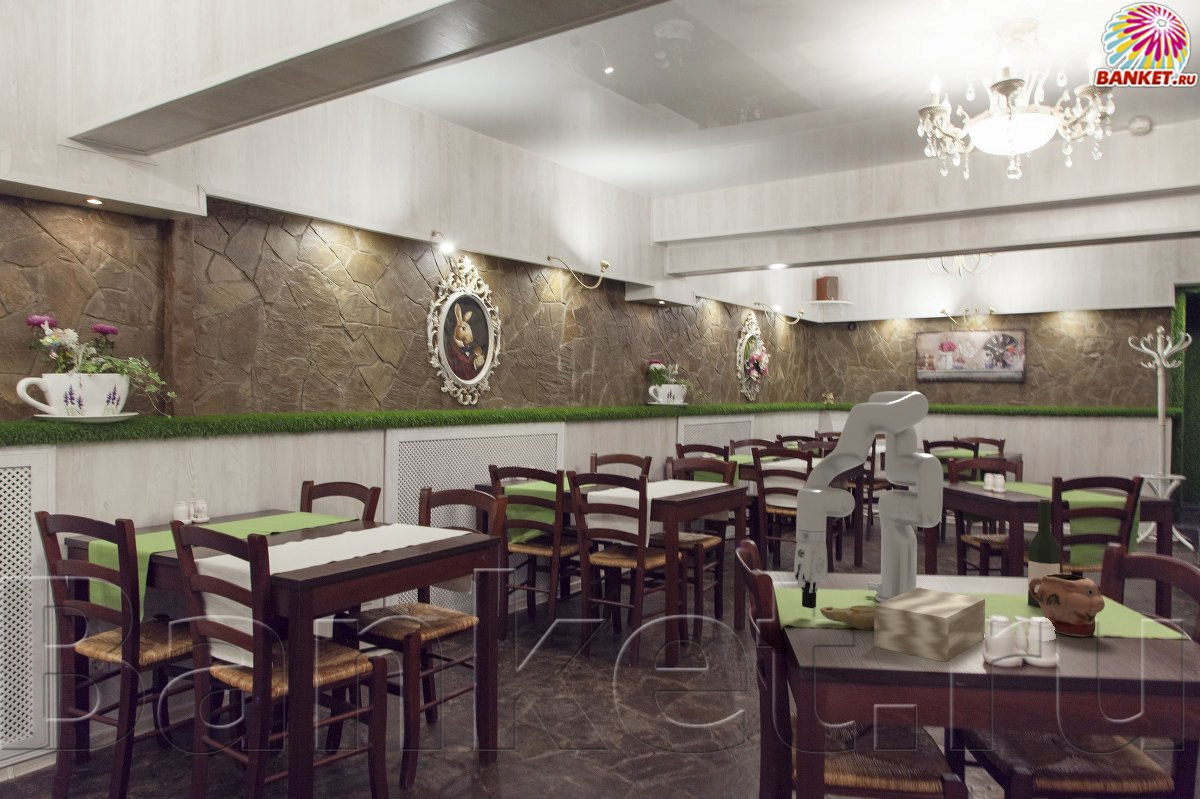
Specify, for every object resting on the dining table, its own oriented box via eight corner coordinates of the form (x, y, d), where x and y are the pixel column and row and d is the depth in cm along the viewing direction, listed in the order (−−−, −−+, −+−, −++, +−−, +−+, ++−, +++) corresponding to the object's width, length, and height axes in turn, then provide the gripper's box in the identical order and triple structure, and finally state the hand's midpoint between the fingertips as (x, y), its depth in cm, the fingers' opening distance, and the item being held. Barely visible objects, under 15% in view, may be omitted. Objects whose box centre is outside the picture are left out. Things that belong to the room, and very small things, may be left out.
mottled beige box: (874, 646, 184) (874, 604, 184) (917, 625, 204) (918, 587, 204) (945, 662, 174) (946, 618, 174) (984, 638, 193) (985, 598, 193)
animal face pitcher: (1011, 623, 207) (1012, 569, 207) (1041, 618, 212) (1041, 566, 213) (1089, 644, 189) (1090, 585, 189) (1119, 638, 195) (1120, 581, 195)
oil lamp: (817, 621, 206) (818, 602, 206) (870, 620, 208) (870, 601, 208) (835, 633, 195) (836, 612, 195) (891, 632, 197) (891, 611, 197)
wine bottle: (1052, 602, 231) (1053, 498, 231) (1065, 609, 223) (1067, 501, 223) (1021, 601, 232) (1023, 497, 232) (1034, 608, 224) (1035, 500, 224)
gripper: (810, 541, 202) (808, 614, 201) (837, 535, 213) (835, 605, 212) (783, 537, 207) (781, 609, 206) (811, 532, 218) (809, 600, 217)
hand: (808, 607), depth 209 cm, fingers closed
